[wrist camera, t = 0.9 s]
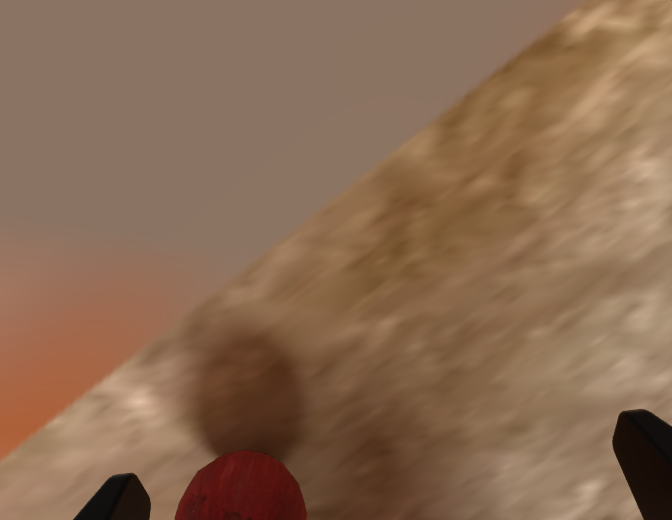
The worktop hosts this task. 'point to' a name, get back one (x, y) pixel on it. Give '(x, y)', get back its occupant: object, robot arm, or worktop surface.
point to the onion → (242, 490)
